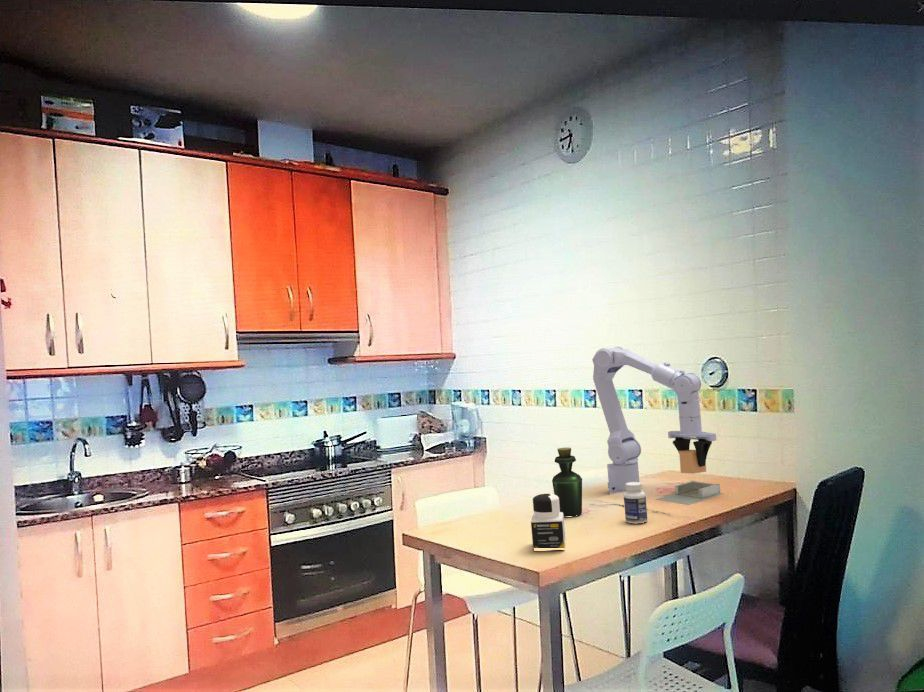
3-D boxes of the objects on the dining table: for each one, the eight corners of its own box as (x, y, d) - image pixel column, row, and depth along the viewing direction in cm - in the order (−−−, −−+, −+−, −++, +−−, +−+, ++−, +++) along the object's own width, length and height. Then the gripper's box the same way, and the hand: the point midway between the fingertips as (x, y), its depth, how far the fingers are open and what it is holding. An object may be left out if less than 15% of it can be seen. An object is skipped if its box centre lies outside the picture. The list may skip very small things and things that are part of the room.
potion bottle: (555, 511, 188) (550, 447, 188) (585, 510, 187) (579, 445, 187) (554, 518, 180) (548, 451, 180) (585, 517, 179) (579, 450, 179)
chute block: (694, 473, 185) (692, 451, 185) (679, 472, 189) (678, 451, 189) (707, 471, 188) (706, 450, 189) (693, 470, 192) (691, 449, 192)
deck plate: (688, 509, 178) (688, 504, 178) (655, 503, 187) (655, 499, 187) (724, 497, 187) (724, 493, 187) (691, 492, 196) (691, 488, 196)
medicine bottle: (533, 552, 153) (528, 499, 153) (535, 543, 160) (531, 492, 160) (564, 551, 151) (560, 498, 151) (565, 542, 158) (561, 491, 158)
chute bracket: (702, 498, 183) (701, 489, 183) (675, 494, 191) (674, 485, 191) (720, 493, 188) (719, 484, 188) (693, 489, 195) (692, 480, 195)
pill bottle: (642, 525, 167) (639, 486, 167) (622, 523, 170) (619, 485, 170) (651, 520, 171) (647, 481, 171) (631, 518, 174) (627, 480, 174)
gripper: (659, 417, 193) (663, 465, 193) (703, 419, 181) (707, 470, 181) (675, 414, 197) (679, 461, 197) (719, 416, 185) (723, 465, 185)
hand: (694, 465), depth 189 cm, fingers closed on chute block, 5 cm apart
